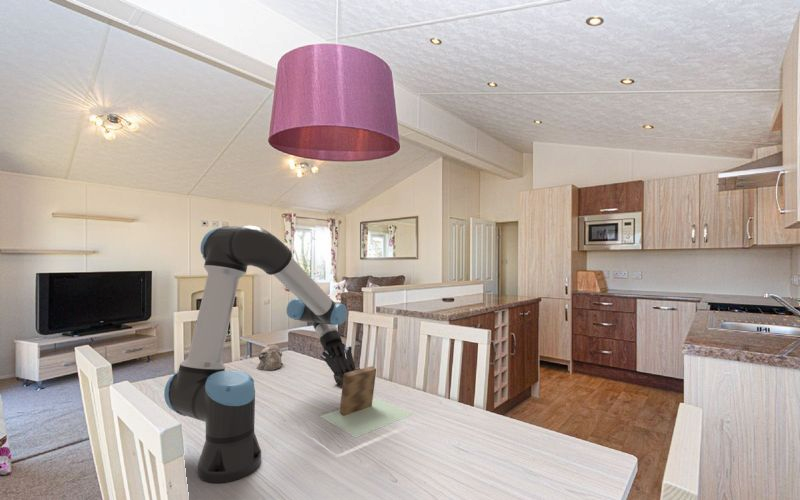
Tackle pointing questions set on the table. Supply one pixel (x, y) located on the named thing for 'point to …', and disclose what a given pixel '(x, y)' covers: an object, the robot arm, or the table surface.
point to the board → (357, 390)
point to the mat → (367, 418)
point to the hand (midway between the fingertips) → (354, 390)
